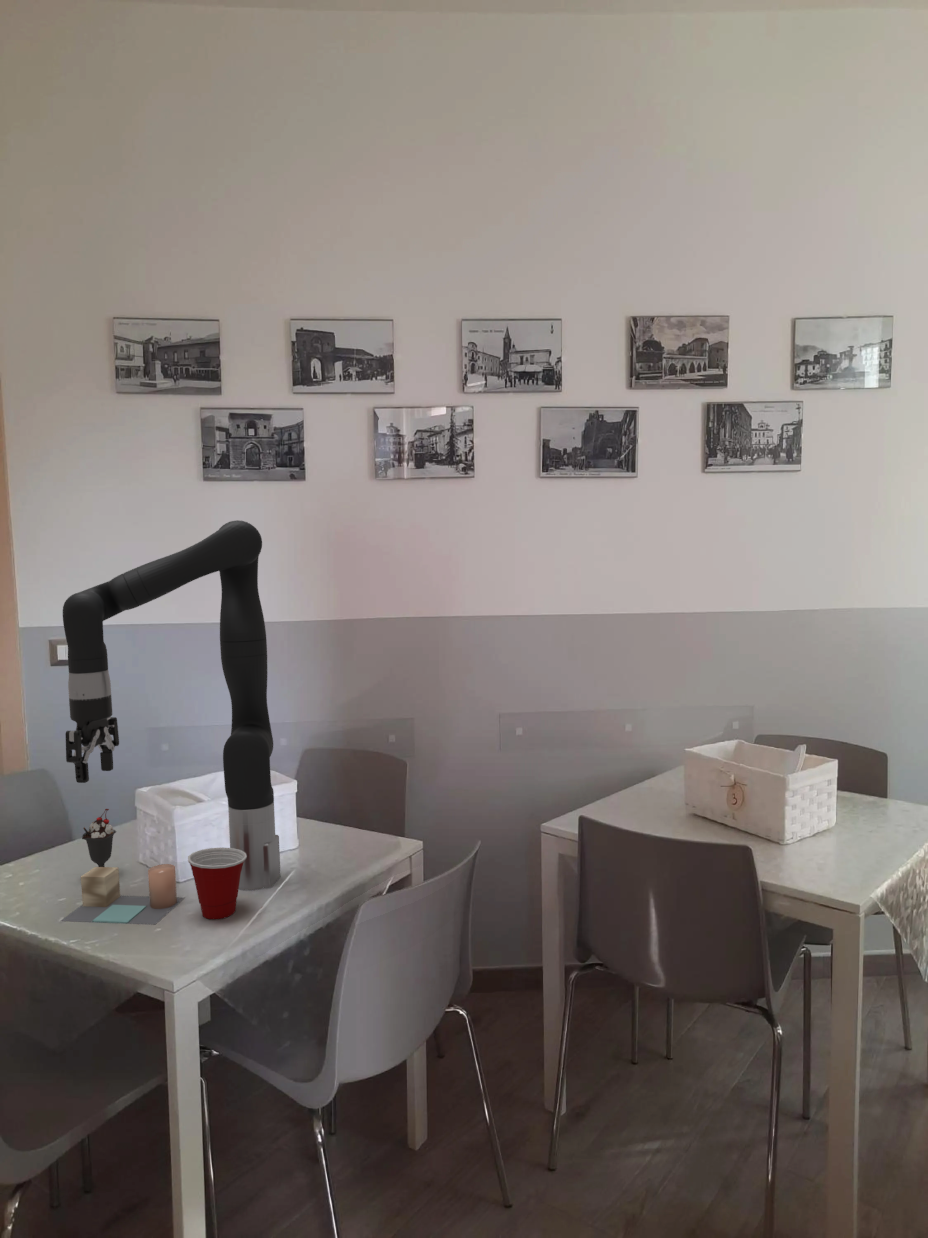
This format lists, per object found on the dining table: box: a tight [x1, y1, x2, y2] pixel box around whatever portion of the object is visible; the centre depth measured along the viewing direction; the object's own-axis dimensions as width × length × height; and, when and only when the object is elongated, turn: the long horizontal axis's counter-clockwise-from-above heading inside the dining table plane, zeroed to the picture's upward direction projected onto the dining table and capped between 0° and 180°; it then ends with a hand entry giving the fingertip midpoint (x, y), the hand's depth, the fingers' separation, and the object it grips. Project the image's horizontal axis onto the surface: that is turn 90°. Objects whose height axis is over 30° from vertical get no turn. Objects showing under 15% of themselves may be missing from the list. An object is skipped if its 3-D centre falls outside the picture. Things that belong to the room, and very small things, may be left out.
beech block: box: [80, 866, 121, 907], centre depth 166 cm, size 5×5×6 cm
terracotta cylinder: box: [147, 863, 178, 909], centre depth 164 cm, size 5×5×7 cm
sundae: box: [81, 808, 117, 867], centre depth 178 cm, size 7×7×15 cm
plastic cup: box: [187, 847, 247, 920], centre depth 159 cm, size 11×11×12 cm
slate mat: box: [60, 894, 185, 926], centre depth 163 cm, size 19×12×1 cm, turn 83°
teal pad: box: [91, 905, 146, 924], centre depth 160 cm, size 7×7×1 cm
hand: (95, 776), depth 164 cm, fingers open, 8 cm apart
